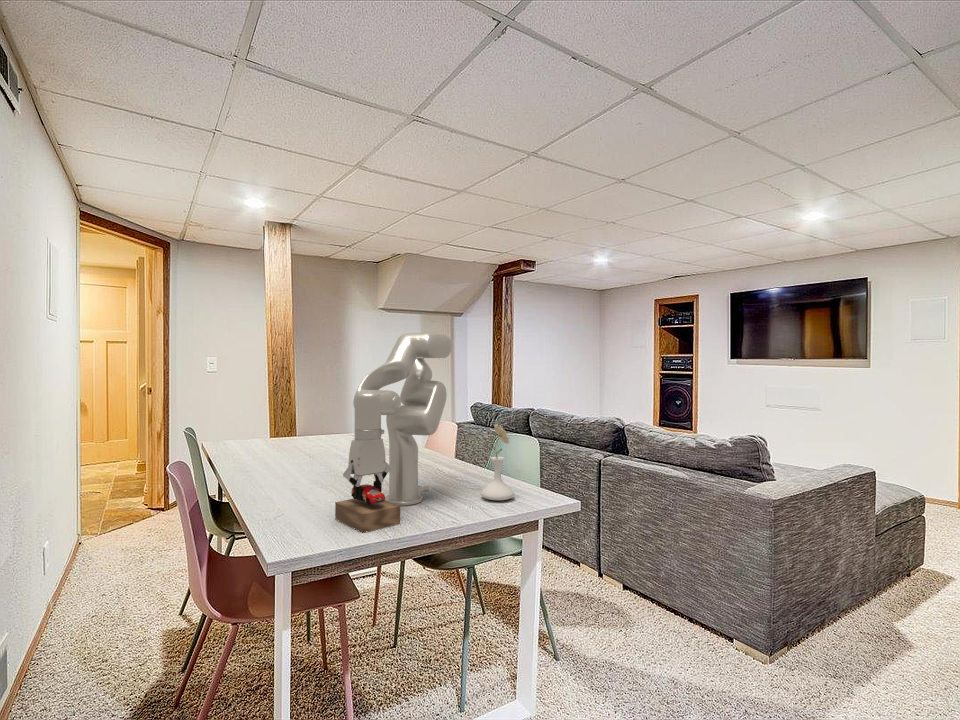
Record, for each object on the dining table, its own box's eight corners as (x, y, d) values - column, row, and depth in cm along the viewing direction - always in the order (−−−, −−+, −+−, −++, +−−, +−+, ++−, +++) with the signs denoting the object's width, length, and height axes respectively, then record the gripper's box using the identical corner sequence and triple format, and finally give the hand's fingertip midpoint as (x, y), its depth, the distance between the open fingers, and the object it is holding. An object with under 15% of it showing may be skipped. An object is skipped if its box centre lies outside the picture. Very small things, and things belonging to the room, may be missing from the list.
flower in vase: (515, 503, 167) (515, 427, 167) (480, 503, 167) (481, 426, 167) (512, 493, 180) (513, 422, 180) (480, 493, 180) (480, 422, 180)
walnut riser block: (371, 511, 157) (371, 495, 157) (400, 523, 145) (400, 506, 145) (335, 519, 149) (335, 502, 149) (362, 532, 137) (362, 514, 137)
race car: (388, 503, 144) (388, 489, 144) (371, 506, 141) (371, 492, 141) (365, 493, 154) (365, 480, 154) (348, 497, 151) (348, 483, 151)
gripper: (386, 431, 156) (386, 490, 156) (334, 436, 145) (334, 500, 145) (400, 433, 151) (400, 494, 151) (346, 439, 139) (346, 505, 139)
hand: (367, 496), depth 148 cm, fingers open, 5 cm apart
